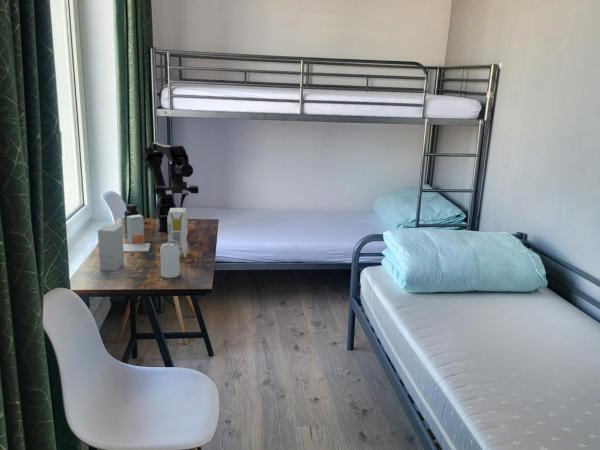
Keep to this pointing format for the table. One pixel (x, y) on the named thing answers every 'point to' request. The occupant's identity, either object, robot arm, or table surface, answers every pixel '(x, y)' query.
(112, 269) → the skincare box
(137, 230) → the skincare box
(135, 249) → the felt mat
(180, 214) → the juice carton
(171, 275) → the can
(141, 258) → the table surface
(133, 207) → the supplement bottle
